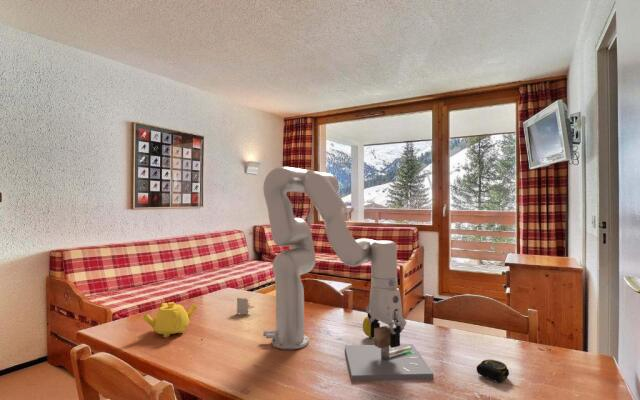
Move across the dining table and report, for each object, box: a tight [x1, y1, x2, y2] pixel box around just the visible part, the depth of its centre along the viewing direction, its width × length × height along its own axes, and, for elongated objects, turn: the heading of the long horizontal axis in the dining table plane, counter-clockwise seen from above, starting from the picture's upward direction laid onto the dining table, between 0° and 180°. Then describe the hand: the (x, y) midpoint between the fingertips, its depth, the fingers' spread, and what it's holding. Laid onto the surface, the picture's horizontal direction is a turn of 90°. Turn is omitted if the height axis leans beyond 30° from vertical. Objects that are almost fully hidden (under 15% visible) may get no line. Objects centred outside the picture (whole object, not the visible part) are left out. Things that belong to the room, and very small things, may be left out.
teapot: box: [141, 301, 198, 338], centre depth 133 cm, size 20×18×11 cm
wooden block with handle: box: [373, 324, 412, 359], centre depth 108 cm, size 13×2×9 cm, turn 119°
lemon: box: [362, 315, 373, 339], centre depth 126 cm, size 6×6×8 cm
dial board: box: [344, 343, 435, 382], centre depth 106 cm, size 22×20×2 cm
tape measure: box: [476, 359, 510, 384], centre depth 97 cm, size 7×7×4 cm
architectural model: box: [236, 297, 255, 316], centre depth 155 cm, size 3×7×7 cm, turn 65°
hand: (384, 341), depth 106 cm, fingers open, 8 cm apart
